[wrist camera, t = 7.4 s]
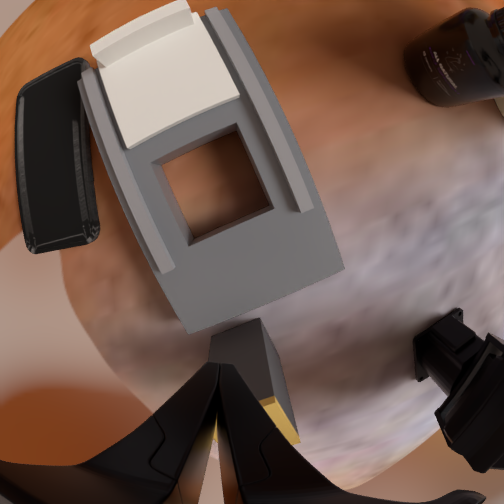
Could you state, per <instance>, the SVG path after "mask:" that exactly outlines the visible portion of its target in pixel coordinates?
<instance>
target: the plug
mask: <svg viewBox="0 0 504 504" xmlns="http://www.w3.org/2000/svg"><path fill="white" fill-rule="evenodd" d="M208 361H210V362H219V363H220V365H221V363H232V364H234V365H235V367H236V368H237V370H238V371H239V373H240V374H241V376H242V377H243V379H244V380H245V382H246V383H247V385H248V386H249V388H250V389H251V391H252V392H253V394H254V395H255V396H256V398H257V399H258V401H259V402H260V404H261V405H262V406H263V408H264V409H265V411H266V412H267V414H268V415H269V416H270V418H271V419H272V420H273V422H274V423H275V425H276V427H278V428H279V430H280V431H281V432H282V434H283V435H284V436H285V438H286V439H287V440H288V441H289V442H290V444H291V445H295V444H298V443H301V442H300V438H299V434H298V430H297V426H296V422H295V418H294V414H293V410H292V406H291V402H290V398H289V394H288V390H287V386H286V382H285V378H284V374H283V370H282V366H281V362H280V358H279V355H278V353H277V351H276V349H275V347H274V345H273V343H272V341H271V339H270V337H269V335H268V333H267V331H266V329H265V327H264V325H263V323H262V321H261V319H260V318H258V319H255V320H253V321H250V322H248V323H245V324H243V325H240V326H238V327H235V328H233V329H230V330H228V331H225V332H222V333H220V334H217V335H214V336H212V337H211V344H210V351H209V358H208ZM213 439H214V440H215V441H216V442H217V443H218V439H217V419H216V427H215V432H214V436H213Z"/></svg>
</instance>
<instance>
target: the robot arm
mask: <svg viewBox="0 0 504 504" xmlns="http://www.w3.org/2000/svg"><path fill="white" fill-rule="evenodd" d="M485 338H486V339H485V341H484V340H482V339H481V338H480V337H478V336H477V335H476V333H475V332H474V331H473V330H471V329H470V328H469V327H467V326H466V325H465V324H463V310H462V309H461V308H458V309H456V310H455V311H453V312H452V313H451V314H449V315H448V316H446V317H445V318H443V319H442V320H440V321H439V322H438V323H436V324H435V325H433V326H431V327H430V328H428V329H427V330H425V331H424V332H422V333H421V334H419V335H417V336H416V337H415V338H414V340H413V347H414V358H415V371H416V380H417V381H418V382H421V381H423V380H424V379H426V378H427V377H429V376H430V377H431V378H432V379H433V380H434V382H435V383H436V384H437V385H438V386H439V387H440V388H441V389H442V391H443V392H444V393H445V394H446V395H447V396H448V397H447V399H446V400H445V401H444V402H443V404H442V405H441V406H440V407H439V408H438V409H437V410H436V411H435V412H434V414H435V416H436V418H437V421H438V423H439V426H440V428H441V430H442V433H443V435H444V438H445V440H446V442H447V445H448V447H450V448H451V449H452V450H453V451H455V452H456V453H458V454H460V455H463V456H464V458H465V459H466V460H467V462H468V463H469V464H470V466H471V467H472V469H473V470H474V471H477V472H480V473H486V472H487V471H488V470H489V469H500V470H504V340H503V339H501V338H499V337H497V336H495V335H493V334H491V333H489V332H488V334H487V336H486V337H485ZM418 340H419V341H418ZM216 419H217V439H218V450H219V461H220V469H221V479H222V488H223V497H224V504H482V503H483V502H484V501H485V499H486V497H485V496H484V495H482V494H480V493H478V492H475V491H469V490H455V491H452V492H450V493H448V494H446V495H444V496H442V497H440V498H438V499H435V500H432V501H428V502H421V503H409V502H398V501H391V500H384V499H377V498H372V497H367V496H362V495H357V494H353V493H349V492H346V491H344V490H342V489H340V488H339V487H337V486H336V485H334V484H333V483H332V482H331V481H329V480H328V479H327V478H326V477H325V476H324V475H322V474H321V473H320V472H319V471H318V470H317V469H316V468H315V467H314V466H312V465H311V464H310V463H309V462H308V461H307V460H306V459H305V458H304V457H303V456H302V455H301V454H300V453H299V452H298V451H297V450H296V449H295V448H294V447H293V446H292V445H291V444H290V442H289V441H288V440H287V439H286V438H285V436H284V435H283V434H282V432H281V431H280V430H279V428H278V427H276V425H275V423H274V422H273V420H272V419H271V418H270V416H269V415H268V414H267V412H266V411H265V409H264V408H263V406H262V405H261V404H260V402H259V401H258V399H257V398H256V396H255V395H254V394H253V392H252V391H251V389H250V388H249V386H248V385H247V383H246V382H245V380H244V379H243V377H242V376H241V374H240V373H239V371H238V370H237V368H236V367H235V365H234V364H232V363H221V365H220V363H219V362H210V361H208V362H206V363H205V364H204V365H203V366H202V367H201V368H200V369H199V370H198V371H197V372H196V373H195V374H194V375H193V376H192V377H191V378H190V379H189V380H188V381H187V382H186V383H185V384H184V385H183V386H182V387H181V388H180V389H179V390H178V391H177V392H176V393H175V394H174V395H173V396H172V397H171V398H169V399H168V400H167V401H166V402H165V403H164V404H163V405H162V406H161V407H160V408H159V409H158V410H157V411H156V412H155V413H153V416H150V417H149V418H148V419H147V420H146V421H145V422H144V423H142V424H141V425H140V426H139V427H138V428H136V429H135V430H134V431H133V432H131V433H130V434H128V435H127V436H126V437H124V438H123V439H121V440H120V441H118V442H117V443H115V444H114V445H112V446H111V447H109V448H107V449H106V450H104V451H103V452H101V453H99V454H98V455H96V456H95V457H93V458H91V459H89V460H87V461H85V462H83V463H80V464H77V465H72V466H46V465H29V464H18V463H11V462H5V461H2V460H0V504H198V502H199V497H200V493H201V489H202V484H203V480H204V475H205V471H206V467H207V462H208V458H209V454H210V449H211V445H212V441H213V436H214V432H215V427H216Z"/></svg>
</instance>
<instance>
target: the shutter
mask: <svg viewBox="0 0 504 504" xmlns="http://www.w3.org/2000/svg"><path fill="white" fill-rule="evenodd" d="M90 48H91V52H92V55H93V57H94V58H96V59H97V65H98V68H99V71H100V74H101V77H102V80H103V83H104V86H105V89H106V92H107V95H108V98H109V101H110V104H111V107H112V110H113V112H114V115H115V118H116V121H117V123H118V126H119V129H120V131H121V134H122V136H123V139H124V142H125V144H126V147H127V148H128V149H132V148H134V147H136V146H137V145H139V144H141V143H143V142H144V141H146V140H148V139H150V138H152V137H154V136H156V135H158V134H159V133H161V132H163V131H165V130H167V129H169V128H171V127H173V126H175V125H177V124H179V123H181V122H184V121H186V120H188V119H190V118H192V117H194V116H196V115H199V114H201V113H203V112H205V111H208V110H210V109H212V108H215V107H217V106H220V105H222V104H225V103H227V102H230V101H232V100H235V99H237V98H240V94H239V92H238V90H237V88H236V86H235V84H234V82H233V80H232V78H231V76H230V74H229V72H228V70H227V68H226V66H225V64H224V62H223V60H222V58H221V56H220V54H219V52H218V50H217V48H216V47H215V45H214V43H213V41H212V39H211V37H210V35H209V34H208V32H207V30H206V28H205V26H204V24H203V23H202V21H201V19H200V17H199V15H198V14H197V12H194V13H191V10H190V7H189V5H188V3H187V2H186V0H177V1H175V2H172V3H170V4H167V5H165V6H162V7H160V8H158V9H156V10H153V11H151V12H149V13H147V14H145V15H143V16H141V17H139V18H137V19H135V20H133V21H131V22H129V23H127V24H125V25H123V26H121V27H119V28H118V29H116V30H114V31H112V32H111V33H109V34H107V35H106V36H104V37H102V38H101V39H99V40H97V41H96V42H94V43H93V44H91V45H90Z"/></svg>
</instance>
